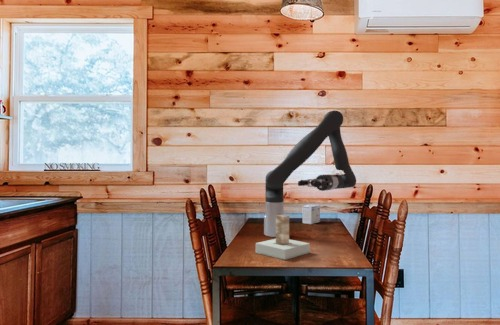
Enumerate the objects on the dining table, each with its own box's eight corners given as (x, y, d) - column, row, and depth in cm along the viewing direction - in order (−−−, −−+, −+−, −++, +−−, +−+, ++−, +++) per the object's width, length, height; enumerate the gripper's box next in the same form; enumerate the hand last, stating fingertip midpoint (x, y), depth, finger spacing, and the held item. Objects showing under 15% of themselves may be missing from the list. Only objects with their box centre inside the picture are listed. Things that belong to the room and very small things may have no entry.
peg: (275, 251, 156) (275, 215, 156) (281, 249, 159) (281, 214, 159) (282, 253, 153) (283, 216, 153) (289, 251, 156) (289, 215, 156)
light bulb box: (310, 220, 236) (310, 203, 236) (320, 222, 232) (320, 204, 232) (301, 223, 228) (302, 205, 228) (311, 224, 224) (311, 206, 224)
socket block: (255, 252, 156) (255, 243, 156) (280, 246, 167) (280, 237, 167) (284, 260, 145) (284, 249, 145) (309, 252, 156) (309, 243, 156)
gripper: (314, 174, 183) (293, 175, 172) (340, 175, 173) (319, 176, 162) (314, 189, 184) (293, 191, 172) (339, 191, 173) (319, 193, 162)
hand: (306, 183), depth 167 cm, fingers open, 8 cm apart
